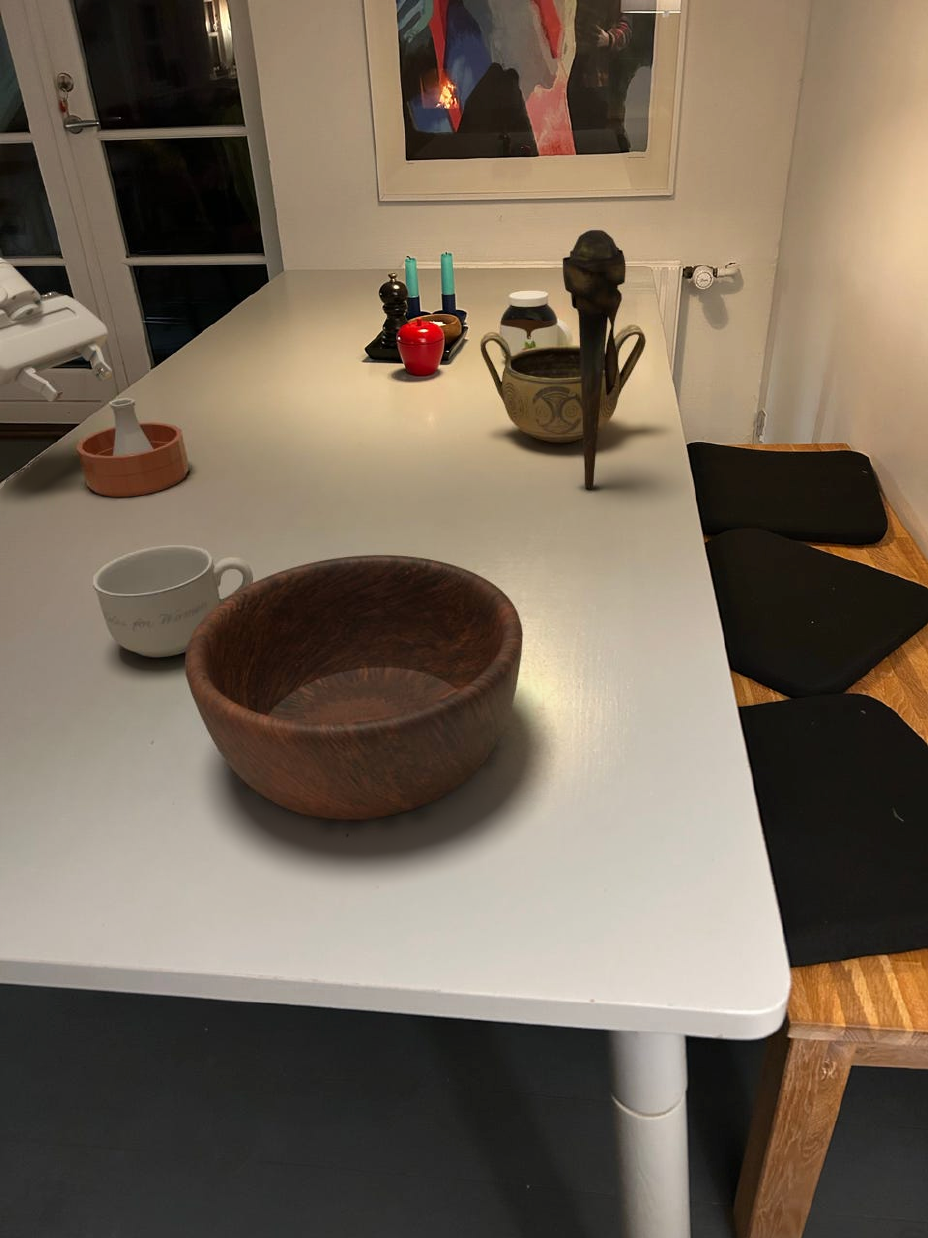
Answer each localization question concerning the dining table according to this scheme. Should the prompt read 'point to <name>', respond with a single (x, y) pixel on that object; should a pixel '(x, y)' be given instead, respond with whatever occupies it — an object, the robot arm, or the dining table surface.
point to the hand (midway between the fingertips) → (83, 386)
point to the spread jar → (532, 323)
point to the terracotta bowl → (134, 462)
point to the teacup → (162, 596)
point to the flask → (128, 429)
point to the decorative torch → (595, 325)
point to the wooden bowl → (357, 682)
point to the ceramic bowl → (554, 386)
